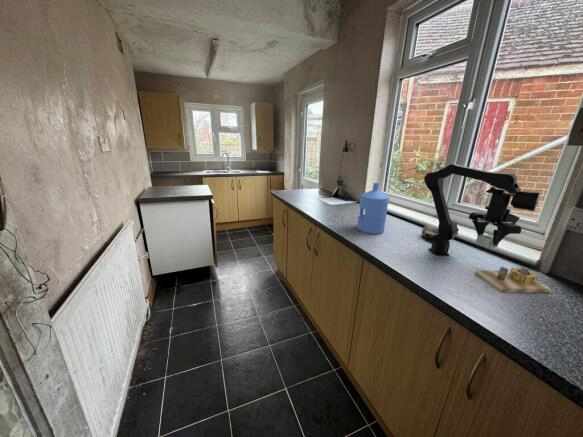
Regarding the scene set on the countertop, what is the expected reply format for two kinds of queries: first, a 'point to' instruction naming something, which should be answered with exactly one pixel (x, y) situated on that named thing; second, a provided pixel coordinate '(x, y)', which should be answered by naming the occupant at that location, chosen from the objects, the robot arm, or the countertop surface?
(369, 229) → the water jug
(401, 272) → the countertop surface
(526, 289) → the gear board
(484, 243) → the green gear
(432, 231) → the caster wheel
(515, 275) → the brass gear
